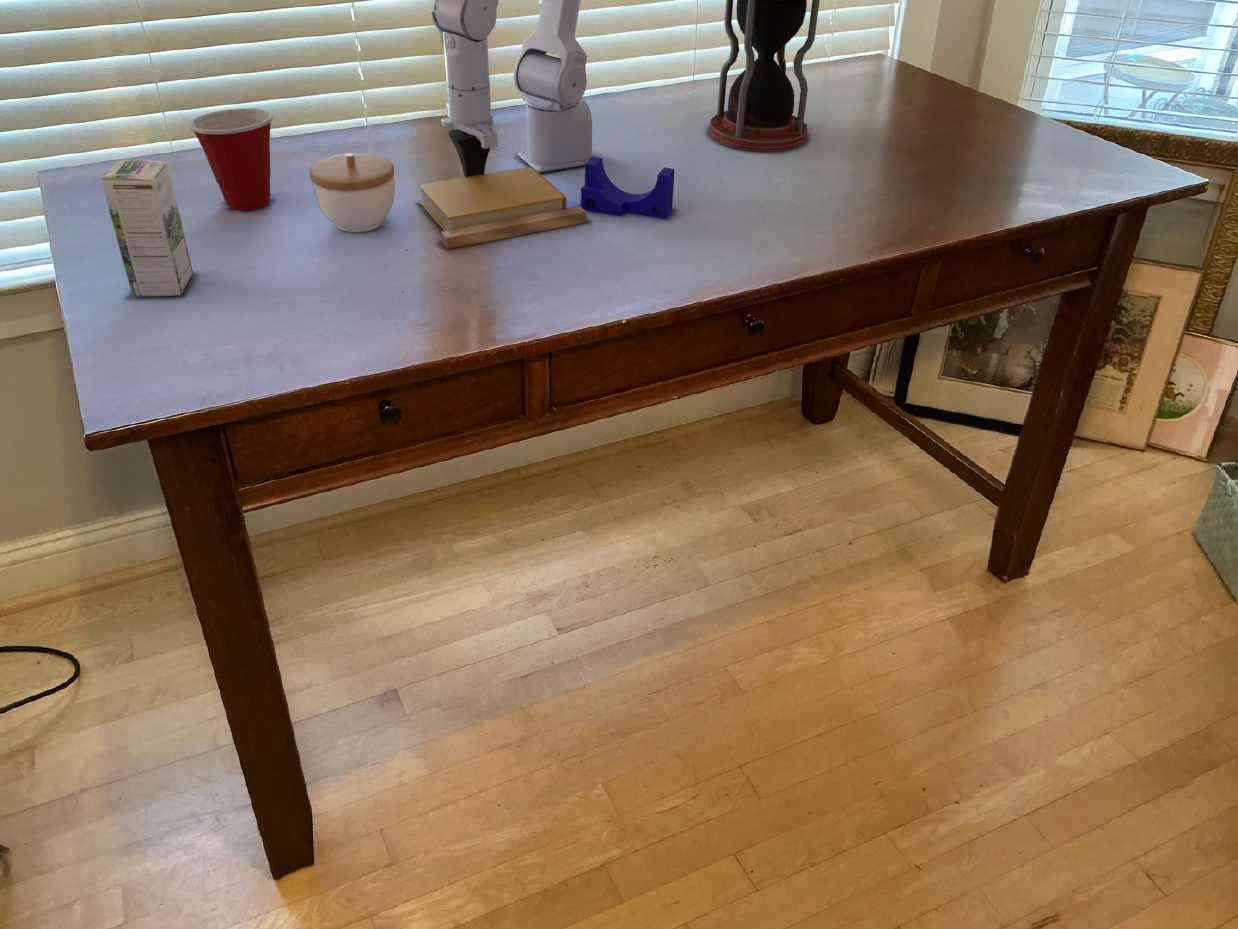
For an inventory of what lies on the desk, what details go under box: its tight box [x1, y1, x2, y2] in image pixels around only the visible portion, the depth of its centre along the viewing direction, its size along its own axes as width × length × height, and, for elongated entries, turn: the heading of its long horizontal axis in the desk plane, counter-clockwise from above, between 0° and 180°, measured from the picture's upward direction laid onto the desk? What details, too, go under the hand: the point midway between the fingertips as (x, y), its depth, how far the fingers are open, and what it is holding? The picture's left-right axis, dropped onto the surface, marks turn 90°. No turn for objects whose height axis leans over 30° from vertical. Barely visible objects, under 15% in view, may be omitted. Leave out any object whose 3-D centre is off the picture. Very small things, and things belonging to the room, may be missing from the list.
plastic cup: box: [187, 107, 274, 212], centre depth 139 cm, size 11×11×12 cm
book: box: [418, 166, 567, 232], centre depth 142 cm, size 17×12×3 cm
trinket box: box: [309, 152, 396, 233], centre depth 135 cm, size 11×11×9 cm
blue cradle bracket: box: [580, 156, 675, 219], centre depth 142 cm, size 12×4×6 cm, turn 71°
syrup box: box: [100, 159, 194, 297], centre depth 118 cm, size 6×6×14 cm
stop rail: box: [441, 205, 587, 250], centre depth 137 cm, size 20×2×2 cm, turn 118°
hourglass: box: [709, 0, 820, 152], centre depth 162 cm, size 16×16×25 cm
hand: (474, 181), depth 147 cm, fingers closed
